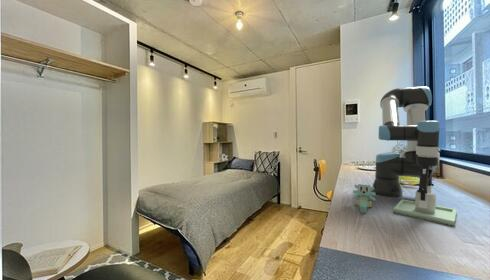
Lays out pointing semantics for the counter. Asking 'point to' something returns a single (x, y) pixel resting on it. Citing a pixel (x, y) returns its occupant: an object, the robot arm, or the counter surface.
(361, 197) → the toy
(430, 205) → the cream rounded capsule
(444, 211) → the tray
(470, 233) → the counter surface
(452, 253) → the counter surface
